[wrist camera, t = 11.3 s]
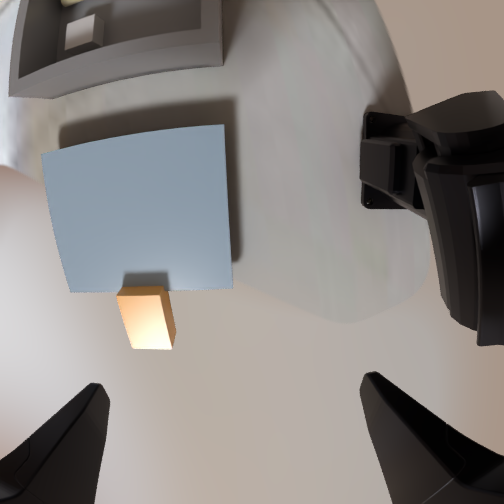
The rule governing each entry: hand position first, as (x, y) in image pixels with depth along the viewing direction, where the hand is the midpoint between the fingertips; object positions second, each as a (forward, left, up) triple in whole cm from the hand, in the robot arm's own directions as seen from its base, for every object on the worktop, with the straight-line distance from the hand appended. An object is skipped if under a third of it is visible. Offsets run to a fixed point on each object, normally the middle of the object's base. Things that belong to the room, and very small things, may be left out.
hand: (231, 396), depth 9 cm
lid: (+6, -1, -12) cm, 13 cm away
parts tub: (+6, -17, -12) cm, 22 cm away
